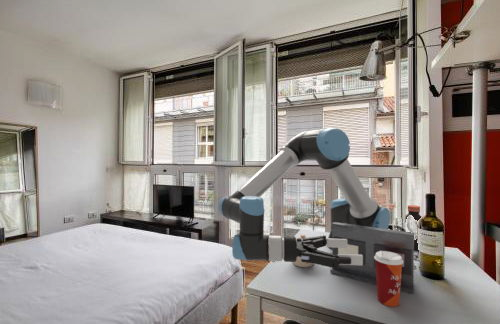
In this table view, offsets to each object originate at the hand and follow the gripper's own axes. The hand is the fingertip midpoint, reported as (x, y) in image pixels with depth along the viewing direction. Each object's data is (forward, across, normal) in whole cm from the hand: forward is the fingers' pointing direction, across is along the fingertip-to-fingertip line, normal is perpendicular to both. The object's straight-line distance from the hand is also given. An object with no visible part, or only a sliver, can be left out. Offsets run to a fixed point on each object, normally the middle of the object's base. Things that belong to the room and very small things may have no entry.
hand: (354, 250), depth 76 cm
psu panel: (+11, -15, -15) cm, 24 cm away
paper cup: (+10, 0, -15) cm, 18 cm away
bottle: (+42, -46, -14) cm, 65 cm away
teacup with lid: (-11, -28, -15) cm, 33 cm away
